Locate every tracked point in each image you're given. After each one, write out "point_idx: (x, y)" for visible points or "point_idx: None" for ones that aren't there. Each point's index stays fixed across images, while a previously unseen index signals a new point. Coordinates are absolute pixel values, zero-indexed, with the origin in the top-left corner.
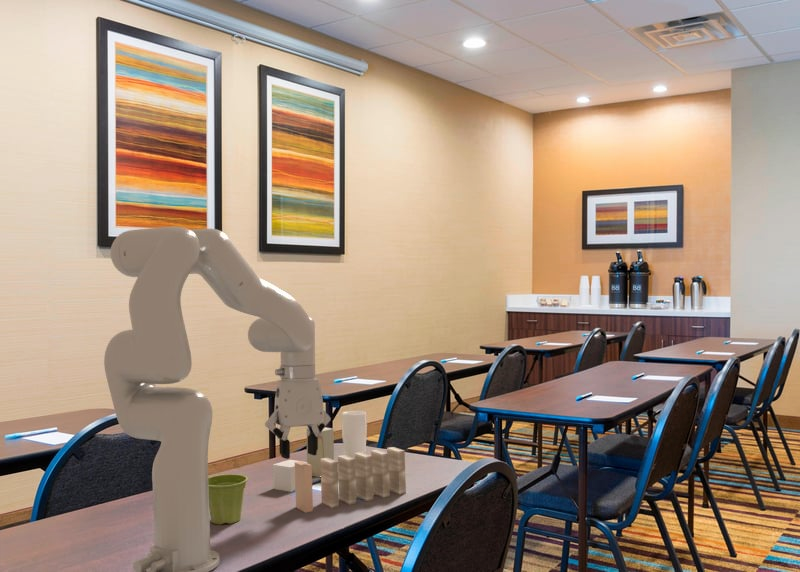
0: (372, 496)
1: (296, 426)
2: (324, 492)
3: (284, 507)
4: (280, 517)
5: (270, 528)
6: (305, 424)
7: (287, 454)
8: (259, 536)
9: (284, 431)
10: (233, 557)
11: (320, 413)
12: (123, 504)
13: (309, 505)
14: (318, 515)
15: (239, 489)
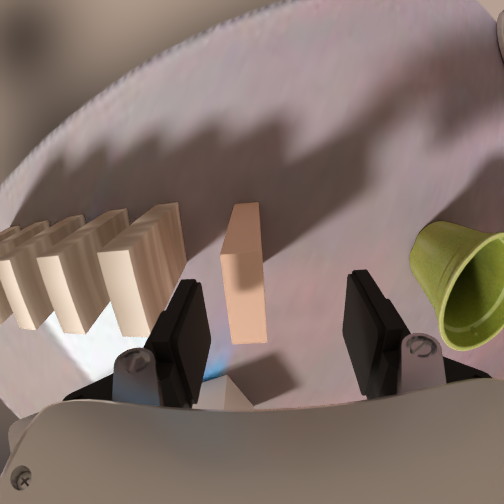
0: (65, 218)
1: (374, 399)
2: (176, 256)
3: (289, 276)
4: (333, 198)
5: (387, 127)
6: (261, 411)
7: (369, 277)
8: (423, 91)
9: (441, 379)
10: (477, 29)
11: (28, 478)
12: None
13: (244, 207)
14: (235, 155)
15: (473, 240)
